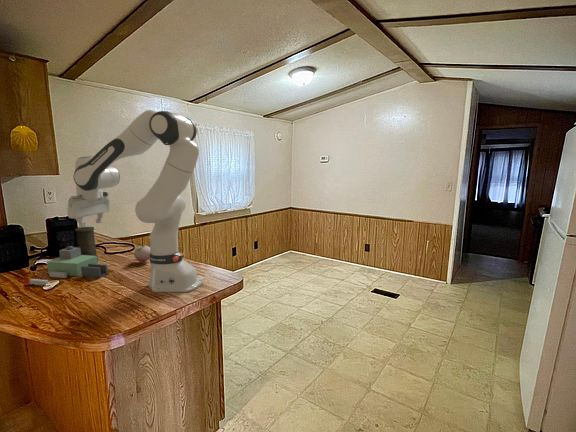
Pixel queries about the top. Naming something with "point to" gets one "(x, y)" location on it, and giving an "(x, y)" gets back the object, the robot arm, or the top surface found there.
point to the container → (86, 241)
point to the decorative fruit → (142, 253)
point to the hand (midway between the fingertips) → (90, 225)
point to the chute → (94, 271)
